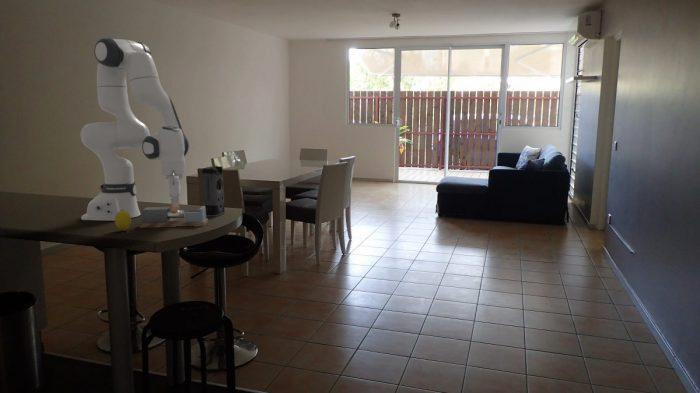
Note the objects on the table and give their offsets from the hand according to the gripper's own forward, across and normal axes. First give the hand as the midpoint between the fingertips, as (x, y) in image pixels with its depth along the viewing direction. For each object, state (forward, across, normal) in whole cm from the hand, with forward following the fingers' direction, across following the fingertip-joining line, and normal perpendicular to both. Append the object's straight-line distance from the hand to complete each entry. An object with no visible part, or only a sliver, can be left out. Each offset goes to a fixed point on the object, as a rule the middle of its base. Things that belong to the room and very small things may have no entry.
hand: (175, 205), depth 206 cm
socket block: (+6, -2, -7) cm, 10 cm away
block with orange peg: (+5, +1, +4) cm, 7 cm away
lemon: (+8, -5, +19) cm, 21 cm away
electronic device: (+8, +15, -15) cm, 22 cm away
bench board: (+8, 0, +1) cm, 8 cm away
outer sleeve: (+6, +2, +7) cm, 10 cm away
